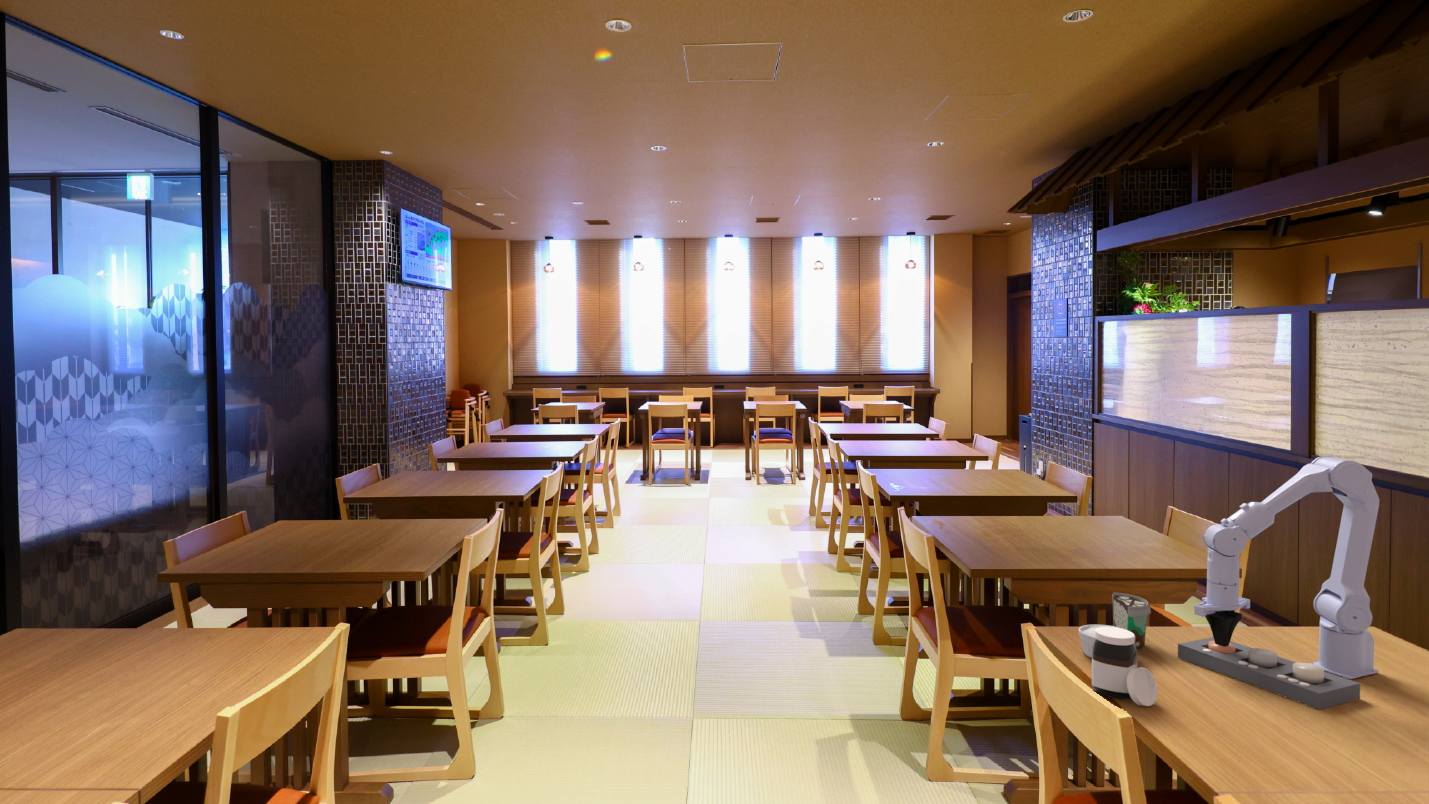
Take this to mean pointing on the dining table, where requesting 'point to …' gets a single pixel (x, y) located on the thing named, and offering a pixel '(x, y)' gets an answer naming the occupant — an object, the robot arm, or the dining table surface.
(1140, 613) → the food container
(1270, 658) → the button two
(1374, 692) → the dining table surface
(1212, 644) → the button one
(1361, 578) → the robot arm
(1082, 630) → the ramekin
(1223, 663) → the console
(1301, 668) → the button three
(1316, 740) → the dining table surface
